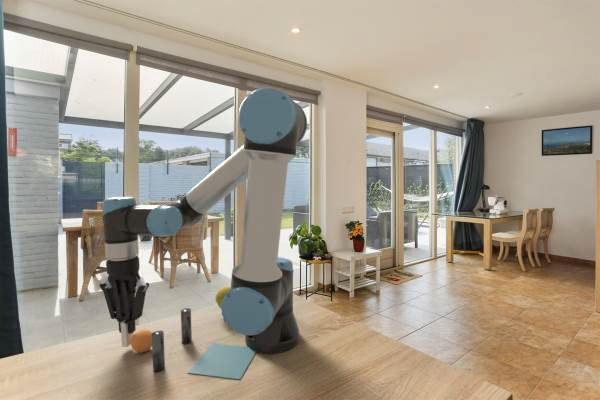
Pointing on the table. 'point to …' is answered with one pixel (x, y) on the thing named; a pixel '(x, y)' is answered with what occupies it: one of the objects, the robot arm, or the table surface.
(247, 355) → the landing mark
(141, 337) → the ball
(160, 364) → the left post
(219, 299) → the light bulb
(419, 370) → the table surface
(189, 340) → the right post
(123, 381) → the table surface
